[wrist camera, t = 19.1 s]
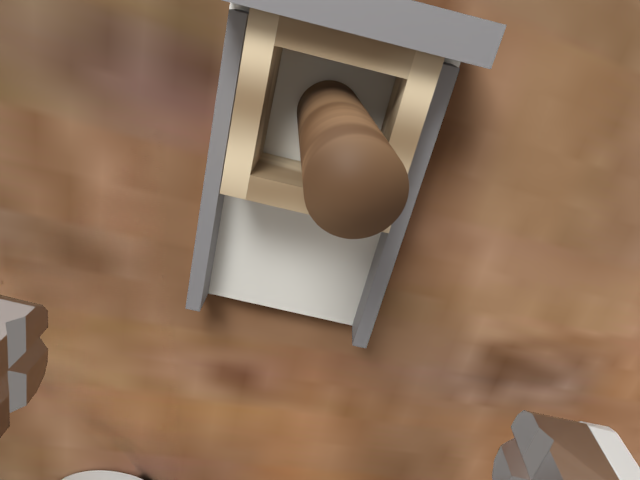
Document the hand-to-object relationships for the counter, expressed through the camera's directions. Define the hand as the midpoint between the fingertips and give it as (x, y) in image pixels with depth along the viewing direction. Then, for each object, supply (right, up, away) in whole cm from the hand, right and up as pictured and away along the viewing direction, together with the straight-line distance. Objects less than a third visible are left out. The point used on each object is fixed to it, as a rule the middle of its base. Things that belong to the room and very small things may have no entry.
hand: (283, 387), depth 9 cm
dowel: (+1, +10, +23) cm, 25 cm away
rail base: (0, +8, +26) cm, 27 cm away
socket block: (+1, +11, +23) cm, 26 cm away
